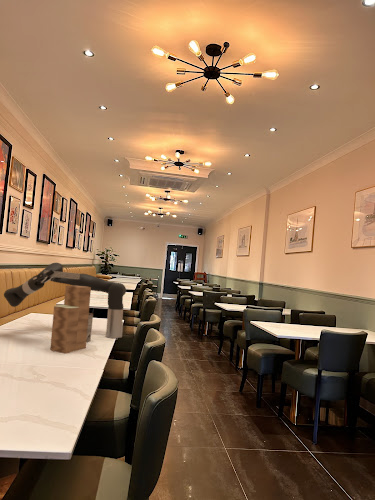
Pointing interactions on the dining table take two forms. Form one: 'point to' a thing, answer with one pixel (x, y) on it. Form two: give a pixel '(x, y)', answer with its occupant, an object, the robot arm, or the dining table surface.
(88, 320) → the coffee box
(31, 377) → the dining table surface
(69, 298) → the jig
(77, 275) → the bar
